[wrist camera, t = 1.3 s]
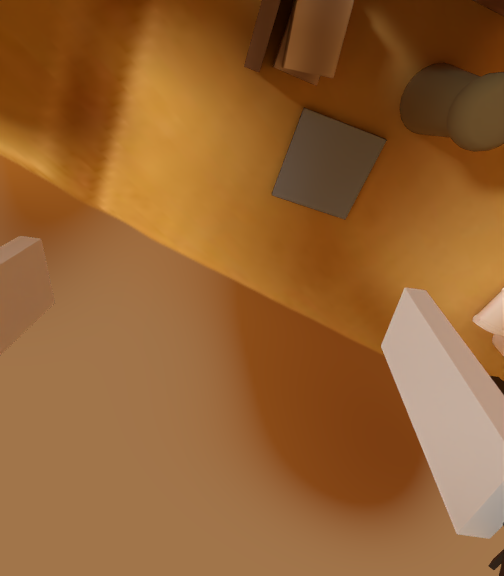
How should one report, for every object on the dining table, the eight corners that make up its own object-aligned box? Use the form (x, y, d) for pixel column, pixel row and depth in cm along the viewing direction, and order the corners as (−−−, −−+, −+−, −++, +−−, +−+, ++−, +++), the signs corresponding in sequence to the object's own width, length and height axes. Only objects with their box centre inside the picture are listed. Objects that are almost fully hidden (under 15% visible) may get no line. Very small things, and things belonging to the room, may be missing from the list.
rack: (245, 64, 31) (241, 70, 18) (293, -115, 25) (343, -312, 12) (439, 142, 35) (554, 194, 22) (523, 3, 29) (757, -43, 15)
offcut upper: (281, 67, 29) (284, 68, 26) (298, -27, 25) (304, -36, 23) (326, 76, 29) (333, 78, 27) (349, -14, 26) (360, -22, 23)
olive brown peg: (423, 147, 35) (483, 178, 26) (387, 104, 33) (438, 123, 24) (477, 95, 32) (565, 111, 23) (441, 46, 30) (523, 41, 21)
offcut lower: (272, 66, 31) (274, 67, 29) (304, -30, 28) (309, -39, 25) (311, 83, 32) (316, 85, 30) (347, -8, 28) (356, -15, 26)
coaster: (271, 193, 38) (272, 195, 37) (304, 107, 33) (304, 108, 32) (344, 217, 39) (345, 219, 39) (384, 139, 35) (386, 140, 34)
